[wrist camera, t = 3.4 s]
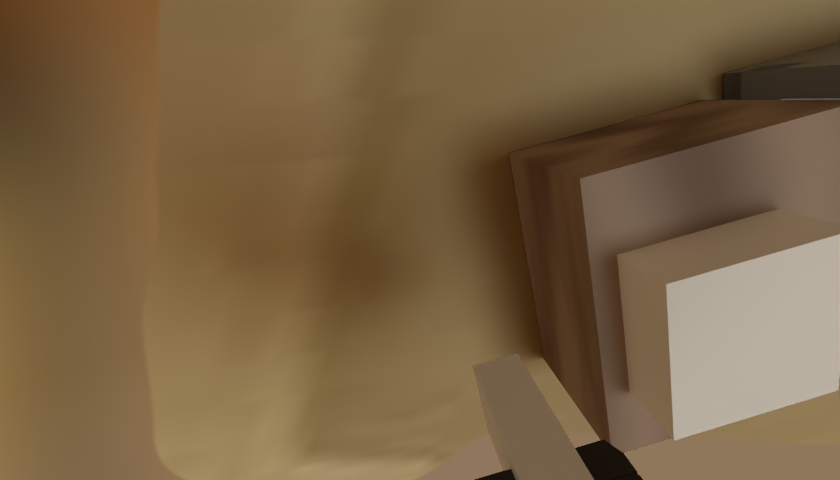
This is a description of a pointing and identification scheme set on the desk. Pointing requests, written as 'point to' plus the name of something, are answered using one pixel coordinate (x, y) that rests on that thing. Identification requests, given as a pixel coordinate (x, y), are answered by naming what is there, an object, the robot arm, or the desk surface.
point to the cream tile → (732, 320)
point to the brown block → (654, 221)
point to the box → (789, 78)
